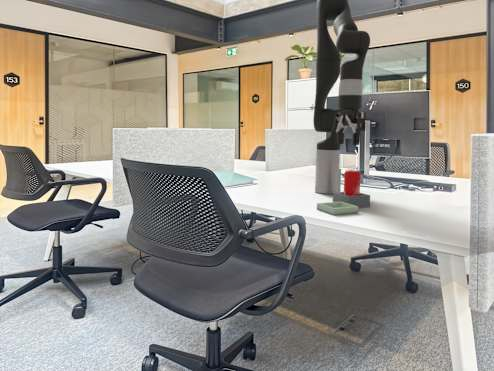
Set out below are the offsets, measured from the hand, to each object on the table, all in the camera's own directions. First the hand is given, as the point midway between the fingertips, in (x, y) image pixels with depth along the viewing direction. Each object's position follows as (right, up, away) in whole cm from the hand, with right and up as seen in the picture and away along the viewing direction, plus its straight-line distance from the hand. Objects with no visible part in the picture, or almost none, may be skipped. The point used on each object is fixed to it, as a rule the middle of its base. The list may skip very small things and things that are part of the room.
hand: (347, 144), depth 137 cm
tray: (-5, -22, -7) cm, 23 cm away
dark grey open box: (+2, -20, +3) cm, 21 cm away
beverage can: (+2, -21, +3) cm, 21 cm away
